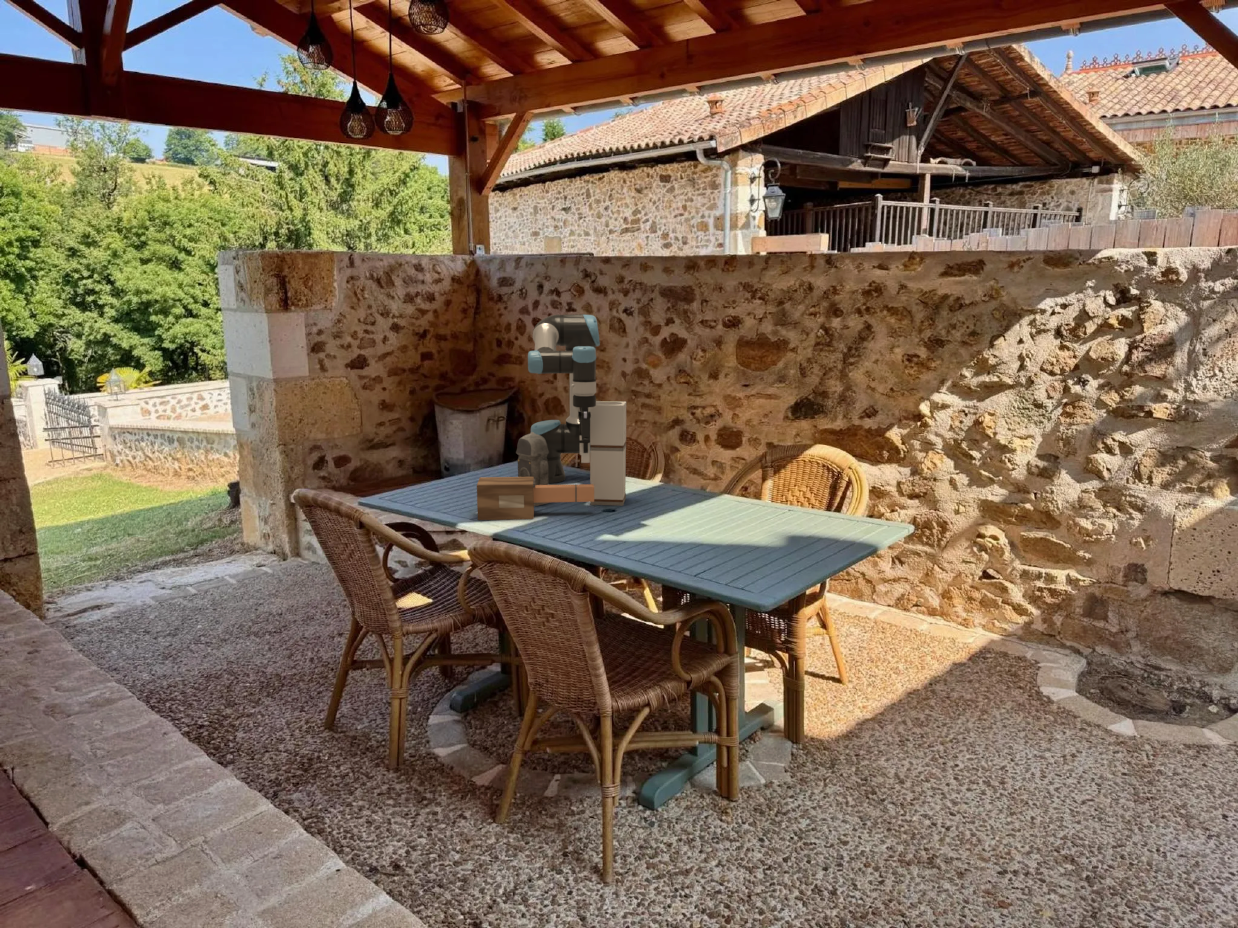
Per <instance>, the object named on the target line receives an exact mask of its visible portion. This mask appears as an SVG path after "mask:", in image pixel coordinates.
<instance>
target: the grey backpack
mask: <svg viewBox="0 0 1238 928" xmlns="http://www.w3.org/2000/svg"><path fill="white" fill-rule="evenodd" d="M516 447H517V448H516V451H515V454H517V455H518V458H517V477H534V479H535V485H549V483H548V462H547V454H548V453H549V451H548V447H547V443H546V440H545V438H543V437H542V436H540V435H538V434H534V432H531V431H530V433H528V434H525V435H523V436H522V437H520V438H519V439H518V442H517V446H516ZM550 503H551V502H541V503H534V507H537V506H542V505H547V504H550Z"/></svg>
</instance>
